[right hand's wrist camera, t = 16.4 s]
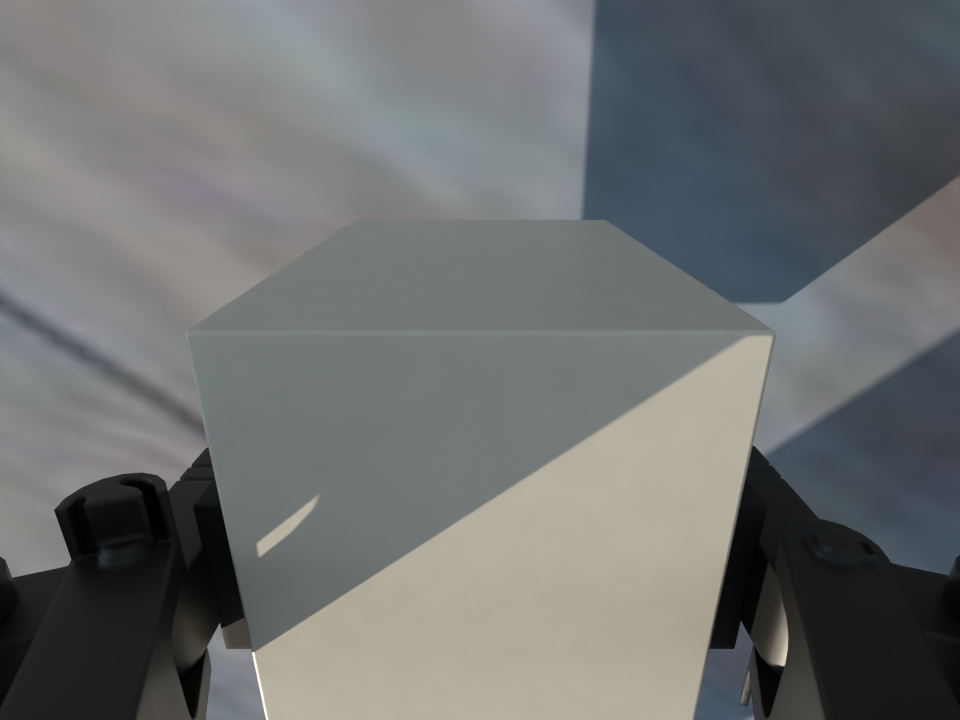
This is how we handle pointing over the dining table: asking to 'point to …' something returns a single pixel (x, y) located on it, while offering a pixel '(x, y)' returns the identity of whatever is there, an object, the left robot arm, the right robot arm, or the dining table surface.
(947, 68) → the dining table surface
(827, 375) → the dining table surface
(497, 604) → the brick
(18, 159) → the dining table surface
